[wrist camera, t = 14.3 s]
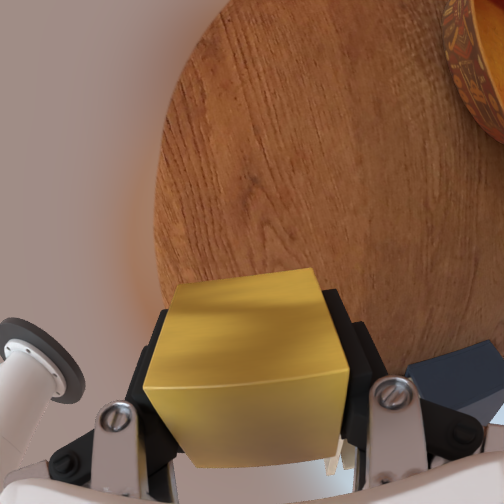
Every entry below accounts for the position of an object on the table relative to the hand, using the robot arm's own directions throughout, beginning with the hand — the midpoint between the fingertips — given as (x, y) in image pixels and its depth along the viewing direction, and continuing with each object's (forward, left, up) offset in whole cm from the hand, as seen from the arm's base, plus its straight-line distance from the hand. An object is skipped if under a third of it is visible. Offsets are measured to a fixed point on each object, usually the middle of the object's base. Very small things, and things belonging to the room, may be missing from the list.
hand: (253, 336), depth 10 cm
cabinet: (+26, -31, -16) cm, 43 cm away
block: (0, 0, 0) cm, 0 cm away
